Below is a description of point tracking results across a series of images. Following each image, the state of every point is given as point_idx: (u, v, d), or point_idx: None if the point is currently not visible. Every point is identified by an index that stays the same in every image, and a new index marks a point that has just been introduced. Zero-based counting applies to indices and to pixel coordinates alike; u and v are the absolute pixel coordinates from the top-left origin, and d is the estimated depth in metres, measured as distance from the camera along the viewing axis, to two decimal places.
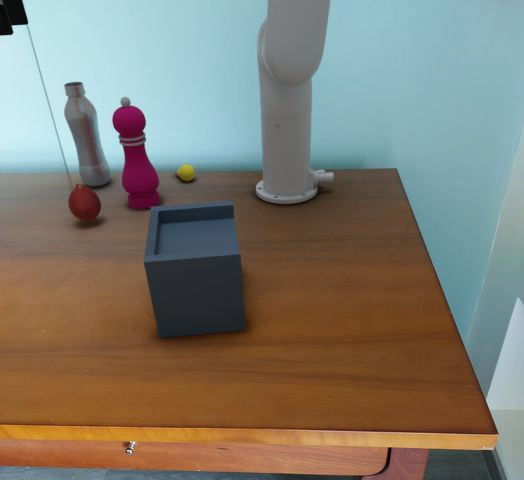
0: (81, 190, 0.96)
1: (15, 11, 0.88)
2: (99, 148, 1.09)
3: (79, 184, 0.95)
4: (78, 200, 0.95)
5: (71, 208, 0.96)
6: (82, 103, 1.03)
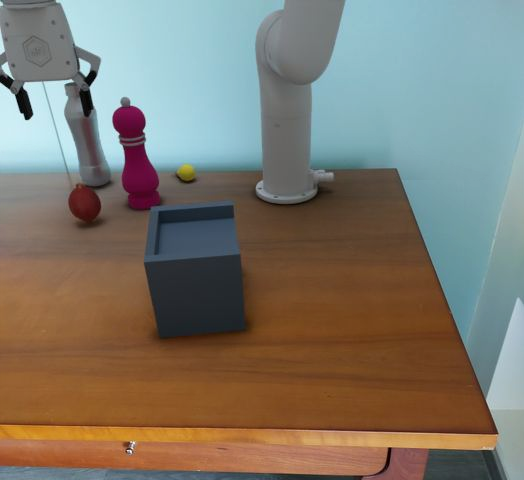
0: (81, 190, 0.96)
1: None
2: (99, 148, 1.09)
3: (79, 184, 0.95)
4: (78, 200, 0.95)
5: (71, 208, 0.96)
6: None
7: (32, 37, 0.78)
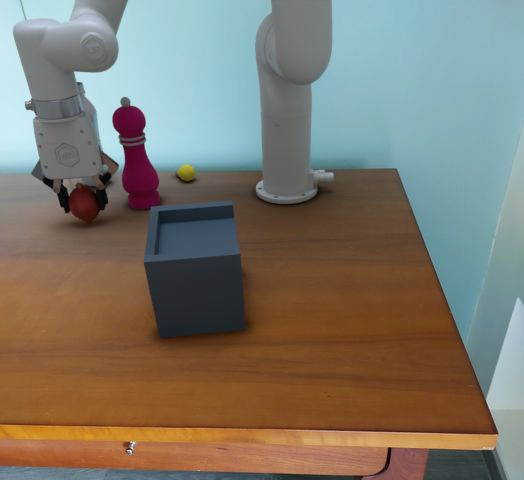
0: (81, 190, 0.96)
1: None
2: None
3: (79, 184, 0.95)
4: (78, 200, 0.95)
5: (71, 208, 0.96)
6: (82, 103, 1.03)
7: (63, 143, 0.88)
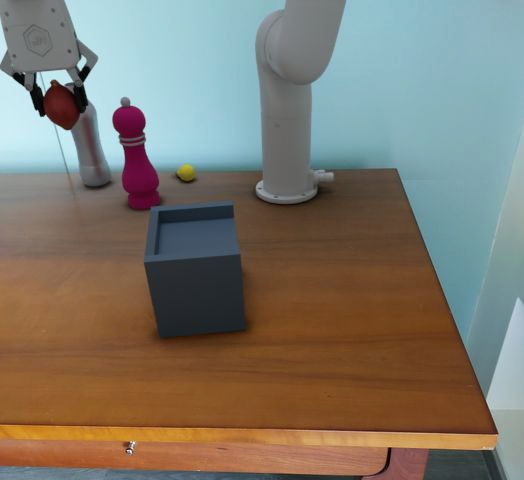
0: (57, 88, 0.85)
1: None
2: (99, 148, 1.09)
3: (54, 81, 0.84)
4: (53, 99, 0.84)
5: (46, 110, 0.86)
6: None
7: (32, 26, 0.78)
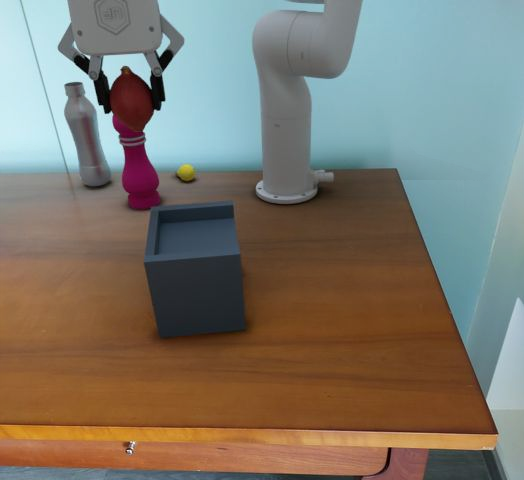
0: (129, 77, 0.66)
1: None
2: (99, 148, 1.09)
3: (126, 68, 0.65)
4: (124, 92, 0.65)
5: (113, 105, 0.67)
6: (82, 103, 1.03)
7: None
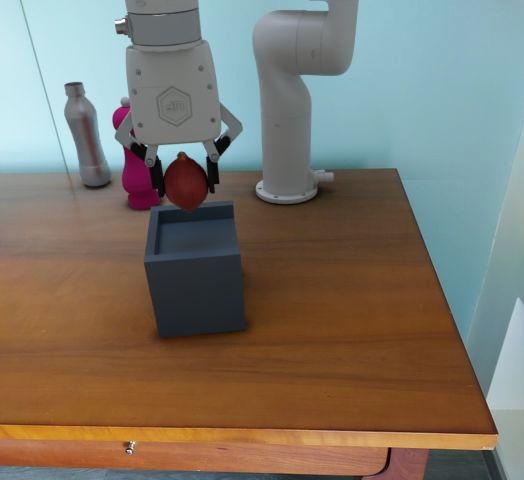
0: (186, 163, 0.65)
1: None
2: (99, 148, 1.09)
3: (182, 154, 0.64)
4: (181, 178, 0.64)
5: (169, 190, 0.65)
6: (82, 103, 1.03)
7: (170, 88, 0.57)
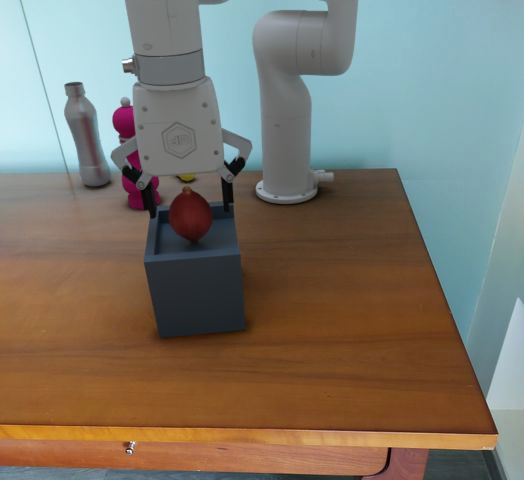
0: (190, 197, 0.67)
1: (222, 194, 0.69)
2: (99, 148, 1.09)
3: (187, 188, 0.67)
4: (186, 211, 0.67)
5: (174, 222, 0.68)
6: (82, 103, 1.03)
7: (175, 123, 0.60)
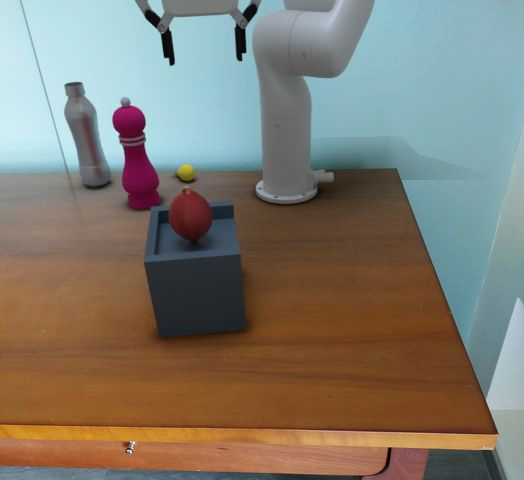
0: (190, 197, 0.67)
1: None
2: (99, 148, 1.09)
3: (187, 188, 0.67)
4: (186, 211, 0.67)
5: (174, 222, 0.68)
6: (82, 103, 1.03)
7: None
